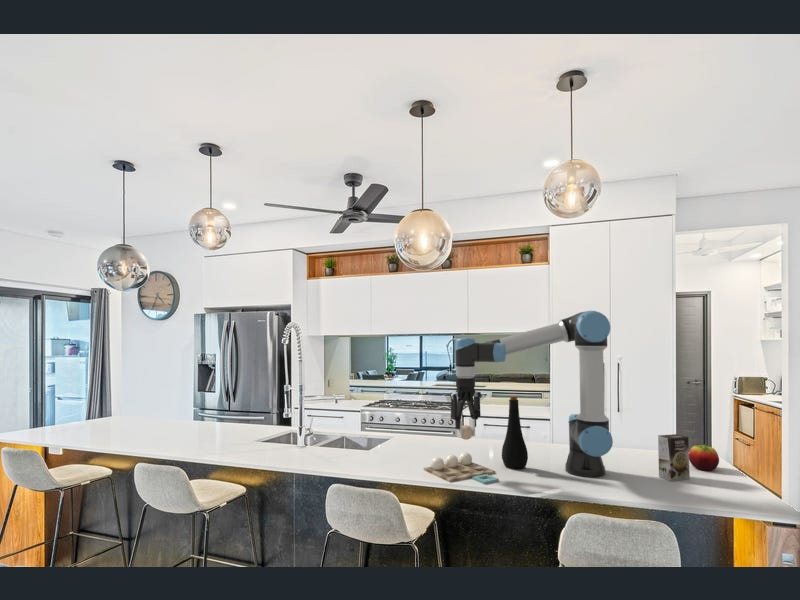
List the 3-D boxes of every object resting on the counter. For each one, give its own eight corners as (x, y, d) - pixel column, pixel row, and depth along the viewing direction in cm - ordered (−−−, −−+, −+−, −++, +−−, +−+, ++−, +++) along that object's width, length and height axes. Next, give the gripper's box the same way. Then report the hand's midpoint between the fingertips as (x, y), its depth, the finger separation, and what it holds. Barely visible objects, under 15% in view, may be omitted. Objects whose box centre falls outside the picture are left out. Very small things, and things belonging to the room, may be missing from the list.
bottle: (496, 467, 208) (495, 395, 209) (518, 464, 211) (517, 393, 213) (511, 474, 198) (509, 398, 199) (533, 471, 201) (532, 397, 203)
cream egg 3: (475, 466, 205) (474, 453, 205) (464, 468, 202) (464, 454, 202) (466, 463, 209) (466, 450, 210) (456, 465, 207) (456, 452, 207)
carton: (467, 465, 211) (467, 460, 211) (495, 476, 195) (495, 470, 196) (423, 472, 200) (423, 467, 200) (449, 485, 185) (449, 479, 185)
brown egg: (475, 440, 193) (475, 425, 194) (464, 441, 191) (464, 427, 191) (467, 437, 198) (467, 423, 198) (456, 438, 195) (456, 424, 196)
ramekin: (498, 484, 185) (498, 478, 185) (484, 487, 182) (484, 481, 182) (486, 479, 191) (486, 474, 192) (472, 482, 188) (472, 476, 188)
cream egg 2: (461, 469, 201) (461, 455, 202) (450, 471, 199) (450, 457, 199) (453, 465, 206) (453, 452, 206) (442, 467, 203) (442, 454, 204)
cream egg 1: (447, 471, 198) (446, 457, 198) (435, 473, 195) (435, 459, 195) (439, 468, 203) (439, 454, 203) (428, 470, 200) (427, 456, 200)
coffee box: (671, 481, 187) (670, 438, 188) (658, 476, 194) (656, 434, 194) (690, 479, 190) (689, 436, 191) (677, 474, 196) (675, 433, 197)
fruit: (719, 467, 205) (718, 443, 206) (720, 474, 196) (719, 448, 197) (689, 464, 211) (688, 440, 211) (688, 470, 201) (688, 445, 202)
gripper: (477, 375, 203) (478, 432, 202) (440, 377, 194) (441, 437, 193) (489, 376, 197) (490, 435, 196) (451, 379, 188) (452, 441, 187)
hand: (466, 436), depth 194 cm, fingers closed on brown egg, 5 cm apart
